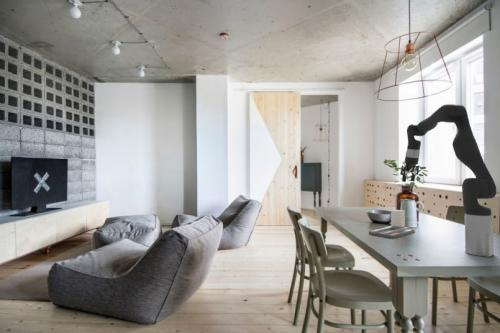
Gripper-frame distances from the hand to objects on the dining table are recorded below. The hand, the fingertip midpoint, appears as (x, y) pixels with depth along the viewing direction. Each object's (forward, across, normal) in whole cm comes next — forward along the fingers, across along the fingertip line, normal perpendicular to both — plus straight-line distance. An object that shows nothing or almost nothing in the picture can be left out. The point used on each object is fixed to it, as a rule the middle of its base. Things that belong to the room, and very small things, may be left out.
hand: (408, 181), depth 183 cm
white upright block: (+25, -19, -11) cm, 33 cm away
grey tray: (+27, -26, -12) cm, 39 cm away
